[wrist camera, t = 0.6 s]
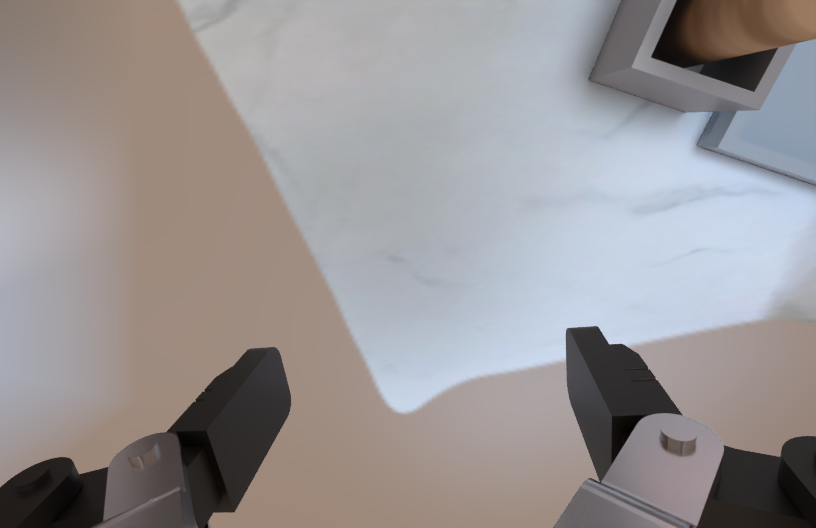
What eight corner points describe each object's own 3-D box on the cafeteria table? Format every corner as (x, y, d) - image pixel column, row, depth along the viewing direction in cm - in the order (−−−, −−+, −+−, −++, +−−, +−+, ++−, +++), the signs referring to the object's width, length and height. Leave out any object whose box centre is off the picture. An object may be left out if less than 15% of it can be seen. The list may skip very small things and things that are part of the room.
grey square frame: (636, -34, 32) (701, -90, 24) (741, 1, 32) (843, -42, 24) (588, 80, 35) (631, 67, 26) (685, 112, 35) (759, 110, 26)
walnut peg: (653, -3, 32) (833, -114, 17) (711, 16, 32) (944, -76, 17) (625, 61, 33) (767, 14, 18) (681, 80, 33) (869, 48, 18)
